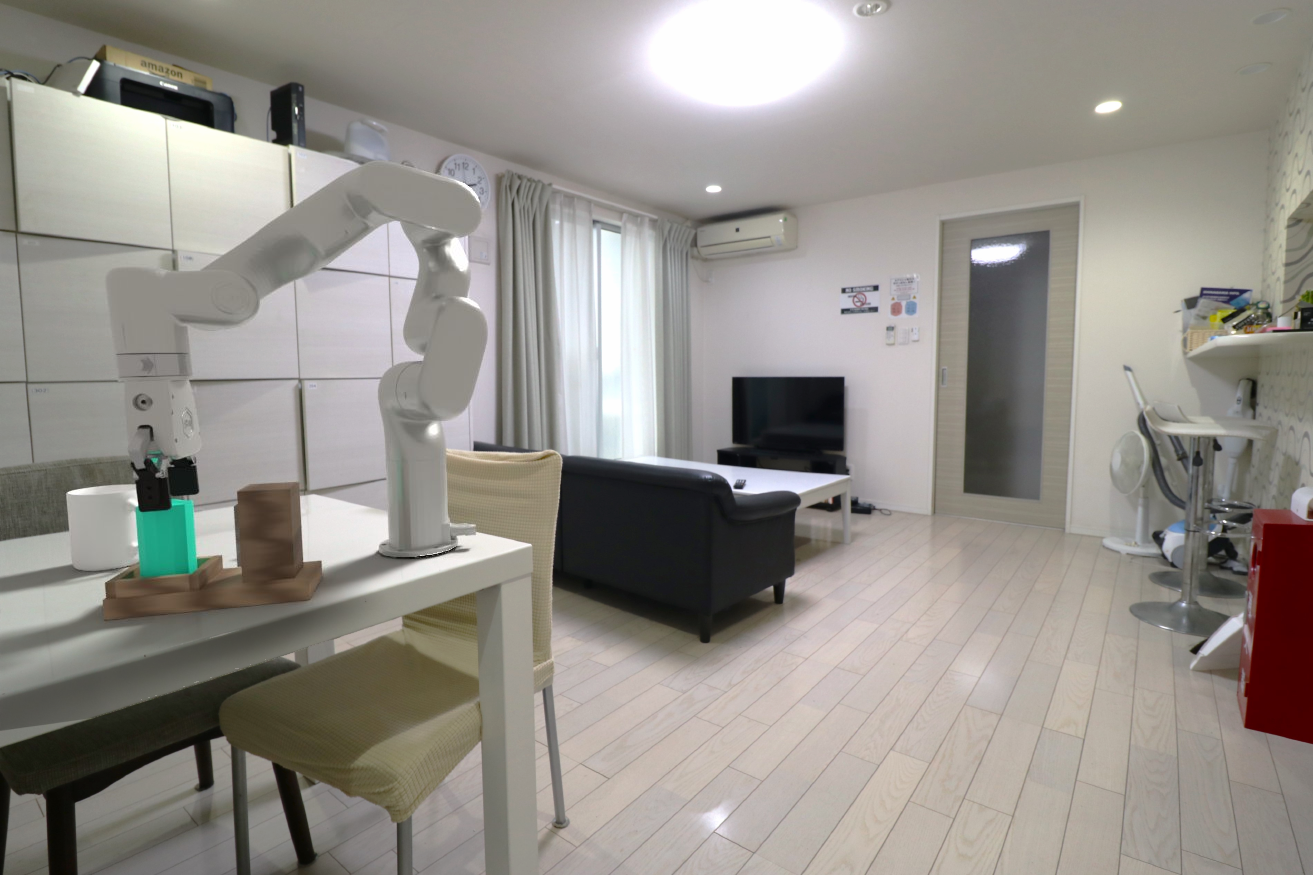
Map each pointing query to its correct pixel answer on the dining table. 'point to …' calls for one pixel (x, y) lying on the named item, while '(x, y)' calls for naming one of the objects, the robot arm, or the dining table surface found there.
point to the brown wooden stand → (259, 577)
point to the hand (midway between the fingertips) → (171, 502)
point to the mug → (103, 527)
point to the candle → (167, 540)
